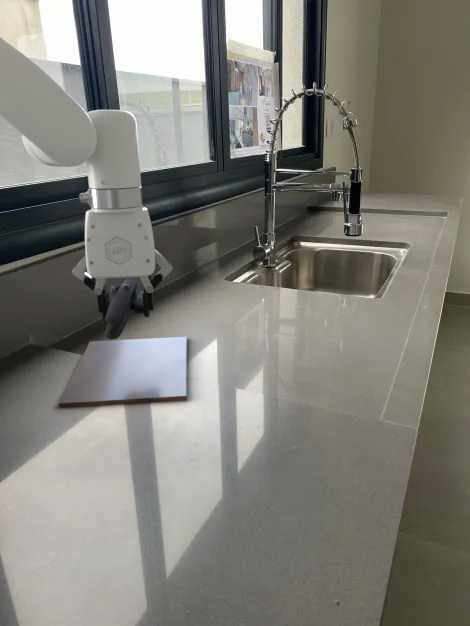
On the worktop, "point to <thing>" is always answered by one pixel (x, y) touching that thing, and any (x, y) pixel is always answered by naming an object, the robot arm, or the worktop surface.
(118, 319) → the can opener
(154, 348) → the cutting board
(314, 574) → the worktop surface
